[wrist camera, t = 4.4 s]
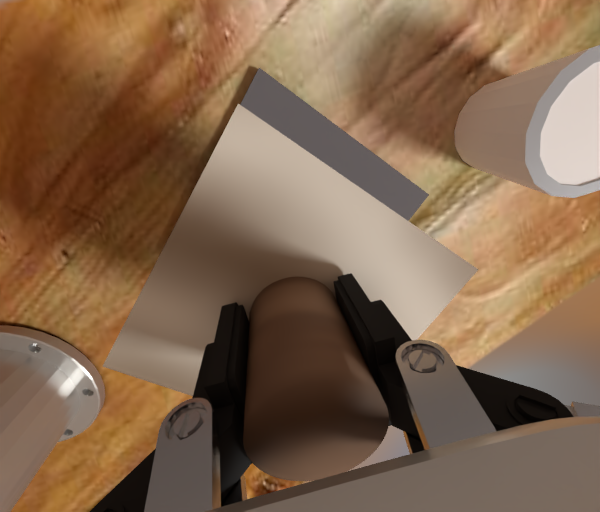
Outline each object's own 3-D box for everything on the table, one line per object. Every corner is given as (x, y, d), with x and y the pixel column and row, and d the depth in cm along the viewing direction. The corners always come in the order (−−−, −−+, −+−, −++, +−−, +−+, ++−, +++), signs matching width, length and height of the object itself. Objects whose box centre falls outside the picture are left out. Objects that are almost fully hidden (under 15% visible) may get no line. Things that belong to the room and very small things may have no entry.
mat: (319, 329, 26) (319, 332, 25) (164, 254, 21) (162, 256, 21) (425, 193, 21) (429, 194, 21) (259, 69, 17) (259, 67, 17)
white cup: (451, 73, 18) (546, 44, 12) (554, 63, 19) (700, 29, 12) (440, 182, 21) (513, 206, 15) (530, 172, 22) (639, 190, 15)
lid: (323, 419, 16) (358, 577, 10) (116, 345, 13) (-3, 521, 7) (460, 258, 13) (614, 352, 7) (240, 107, 10) (214, 67, 4)
